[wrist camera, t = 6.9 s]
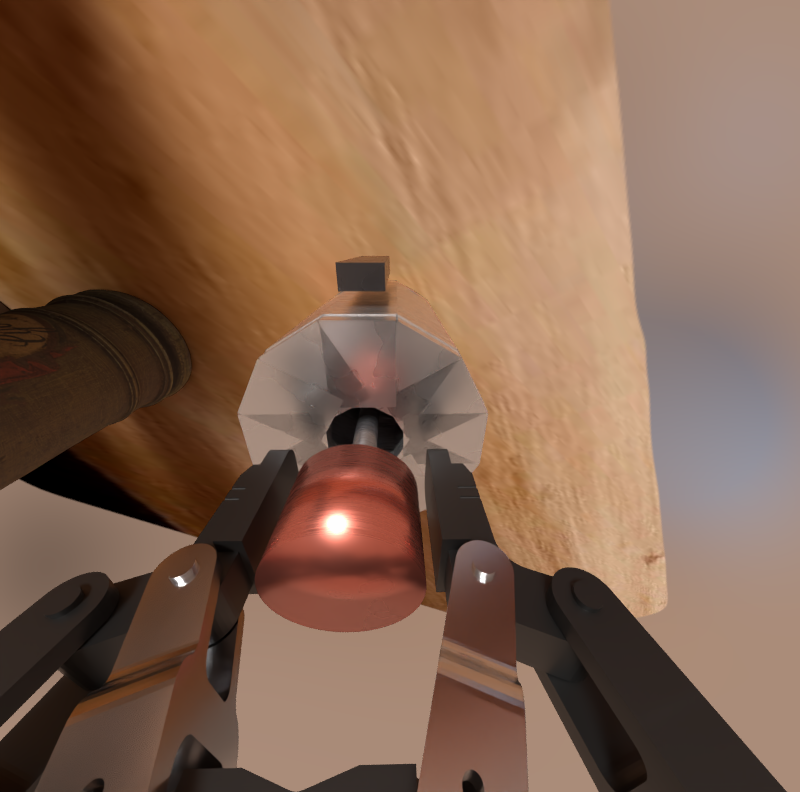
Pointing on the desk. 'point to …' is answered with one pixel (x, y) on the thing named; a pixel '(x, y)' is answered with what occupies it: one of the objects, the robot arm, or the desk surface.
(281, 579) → the plunger
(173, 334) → the container
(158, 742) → the robot arm
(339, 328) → the press carafe
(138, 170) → the desk surface
